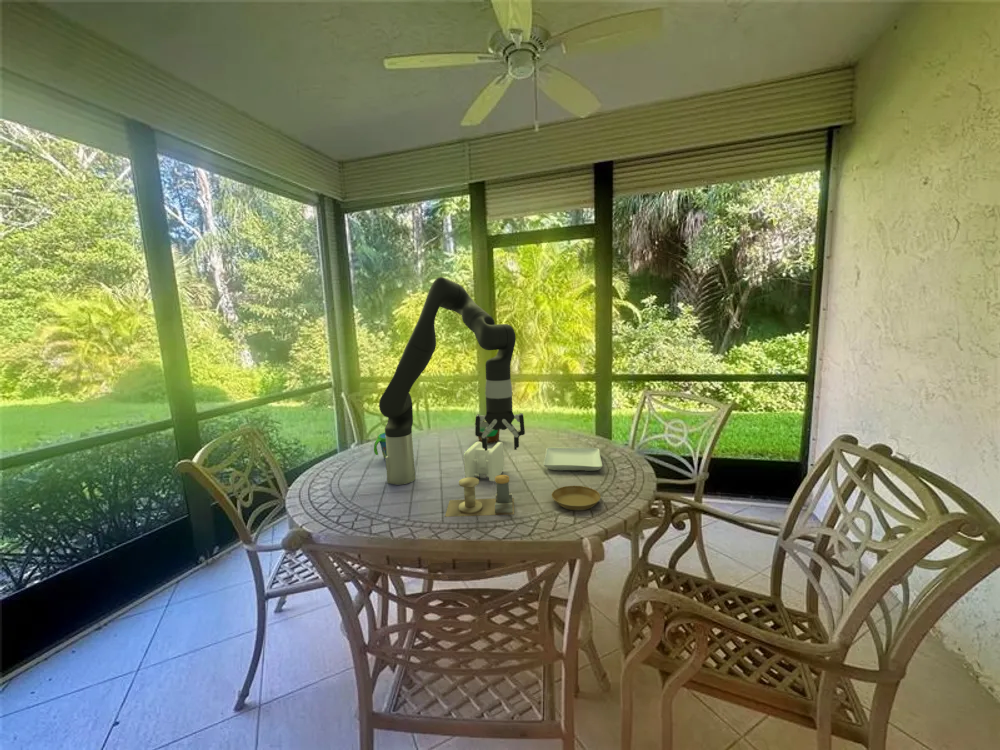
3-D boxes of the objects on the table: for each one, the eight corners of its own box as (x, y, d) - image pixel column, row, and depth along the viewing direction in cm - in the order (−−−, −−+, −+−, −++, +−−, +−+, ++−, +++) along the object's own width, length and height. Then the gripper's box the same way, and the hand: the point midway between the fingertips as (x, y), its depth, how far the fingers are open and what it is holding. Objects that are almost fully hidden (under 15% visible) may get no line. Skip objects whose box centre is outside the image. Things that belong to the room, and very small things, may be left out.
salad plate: (599, 455, 175) (599, 446, 175) (602, 474, 155) (602, 465, 154) (546, 454, 179) (546, 446, 178) (543, 473, 158) (542, 464, 158)
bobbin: (457, 513, 126) (455, 486, 125) (460, 503, 133) (458, 477, 132) (481, 513, 126) (480, 485, 125) (482, 502, 133) (481, 476, 132)
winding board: (445, 520, 125) (444, 508, 125) (450, 503, 136) (449, 492, 135) (514, 518, 125) (514, 506, 124) (513, 501, 136) (513, 490, 135)
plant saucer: (567, 489, 143) (567, 481, 143) (609, 500, 134) (608, 491, 134) (542, 506, 132) (542, 498, 132) (586, 518, 123) (586, 510, 122)
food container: (473, 444, 196) (471, 422, 195) (475, 440, 202) (474, 419, 201) (499, 444, 194) (498, 422, 193) (502, 440, 200) (501, 419, 199)
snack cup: (380, 465, 173) (378, 441, 172) (370, 459, 181) (367, 435, 180) (415, 456, 183) (413, 432, 181) (404, 450, 191) (402, 428, 190)
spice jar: (496, 503, 131) (495, 475, 130) (510, 503, 131) (509, 474, 130) (496, 509, 127) (494, 480, 126) (510, 509, 127) (509, 480, 126)
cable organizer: (493, 486, 148) (491, 453, 146) (464, 484, 151) (462, 452, 149) (505, 470, 162) (503, 440, 160) (478, 468, 165) (476, 439, 163)
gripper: (523, 391, 128) (524, 444, 130) (475, 392, 128) (477, 446, 130) (524, 396, 120) (525, 453, 123) (472, 398, 121) (475, 454, 123)
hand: (500, 449), depth 127 cm, fingers open, 8 cm apart
